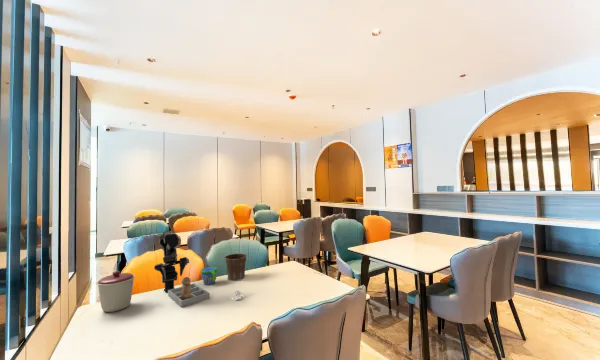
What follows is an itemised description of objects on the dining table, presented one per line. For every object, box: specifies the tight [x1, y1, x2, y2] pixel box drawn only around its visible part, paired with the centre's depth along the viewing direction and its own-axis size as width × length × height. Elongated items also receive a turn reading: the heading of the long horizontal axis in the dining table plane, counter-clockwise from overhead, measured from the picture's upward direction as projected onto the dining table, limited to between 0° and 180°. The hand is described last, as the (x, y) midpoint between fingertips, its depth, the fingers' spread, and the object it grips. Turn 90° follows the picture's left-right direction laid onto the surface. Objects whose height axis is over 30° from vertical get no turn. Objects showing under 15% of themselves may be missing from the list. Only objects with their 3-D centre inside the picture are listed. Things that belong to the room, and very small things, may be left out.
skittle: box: [181, 276, 192, 300], centre depth 153 cm, size 5×5×14 cm
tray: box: [167, 282, 211, 309], centre depth 161 cm, size 24×16×4 cm
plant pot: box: [224, 253, 248, 281], centre depth 194 cm, size 16×16×16 cm
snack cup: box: [200, 266, 218, 286], centre depth 184 cm, size 16×10×10 cm
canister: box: [96, 270, 136, 313], centre depth 149 cm, size 18×18×21 cm
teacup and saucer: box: [231, 290, 246, 301], centre depth 157 cm, size 9×8×4 cm
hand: (172, 278), depth 157 cm, fingers open, 9 cm apart
